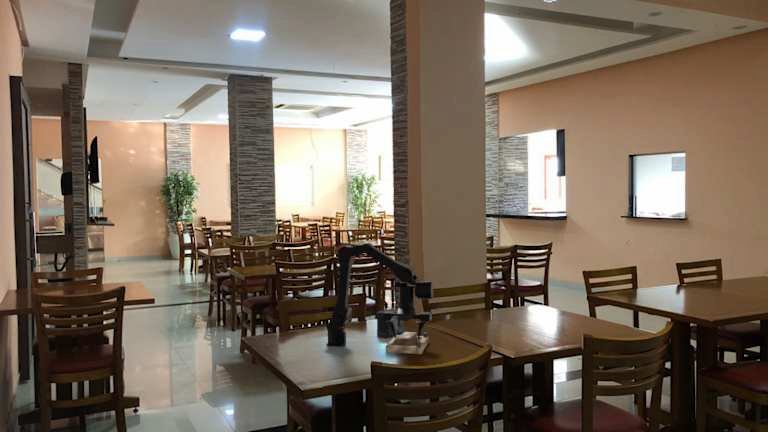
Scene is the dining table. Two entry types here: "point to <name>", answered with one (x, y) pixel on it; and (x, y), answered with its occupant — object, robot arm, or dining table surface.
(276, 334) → the dining table surface
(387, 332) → the small box
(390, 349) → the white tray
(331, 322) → the robot arm
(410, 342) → the frame
